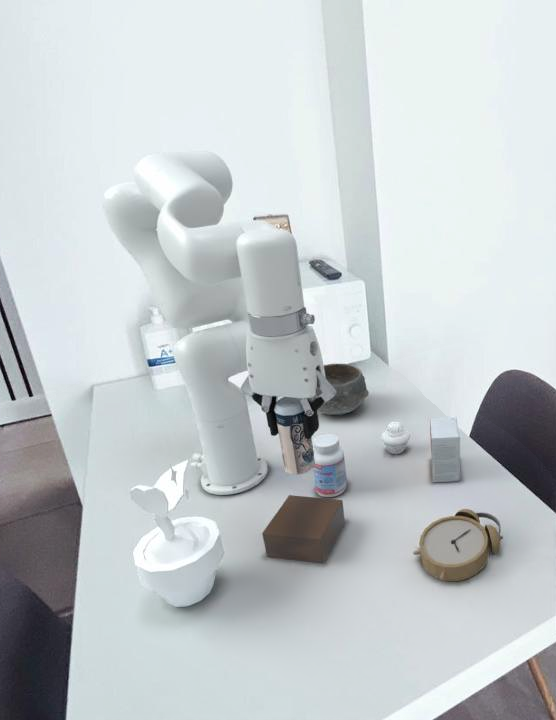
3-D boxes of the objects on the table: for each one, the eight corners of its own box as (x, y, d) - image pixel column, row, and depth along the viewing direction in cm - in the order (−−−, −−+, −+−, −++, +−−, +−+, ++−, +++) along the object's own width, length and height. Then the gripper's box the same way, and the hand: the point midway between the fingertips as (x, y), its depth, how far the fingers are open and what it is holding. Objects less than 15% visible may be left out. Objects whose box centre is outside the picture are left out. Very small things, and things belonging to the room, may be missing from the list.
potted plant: (202, 628, 78) (162, 484, 68) (130, 617, 79) (80, 475, 69) (249, 563, 89) (221, 431, 79) (185, 554, 91) (149, 425, 81)
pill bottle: (309, 493, 106) (302, 444, 101) (329, 476, 111) (323, 428, 106) (334, 501, 103) (328, 451, 99) (353, 484, 108) (348, 435, 104)
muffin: (379, 446, 121) (377, 418, 118) (406, 440, 123) (404, 413, 120) (386, 460, 116) (384, 432, 113) (414, 454, 118) (412, 426, 115)
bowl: (312, 398, 142) (307, 363, 138) (372, 394, 143) (369, 360, 139) (303, 425, 129) (298, 387, 125) (369, 421, 131) (366, 384, 127)
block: (266, 556, 90) (261, 533, 88) (292, 517, 99) (289, 494, 97) (323, 563, 89) (320, 539, 87) (345, 522, 98) (342, 499, 96)
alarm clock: (404, 541, 89) (471, 490, 97) (409, 561, 92) (475, 510, 99) (447, 580, 81) (516, 522, 89) (452, 601, 84) (519, 543, 92)
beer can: (307, 479, 83) (297, 410, 78) (278, 475, 84) (267, 407, 79) (320, 461, 88) (312, 395, 83) (293, 457, 89) (283, 392, 84)
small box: (431, 460, 116) (429, 417, 111) (457, 459, 116) (456, 415, 112) (432, 483, 108) (430, 438, 104) (460, 481, 109) (459, 436, 104)
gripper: (345, 315, 78) (356, 424, 86) (235, 309, 80) (255, 416, 88) (325, 334, 71) (338, 451, 79) (206, 326, 74) (230, 441, 81)
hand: (294, 431), depth 83 cm, fingers closed on beer can, 4 cm apart
